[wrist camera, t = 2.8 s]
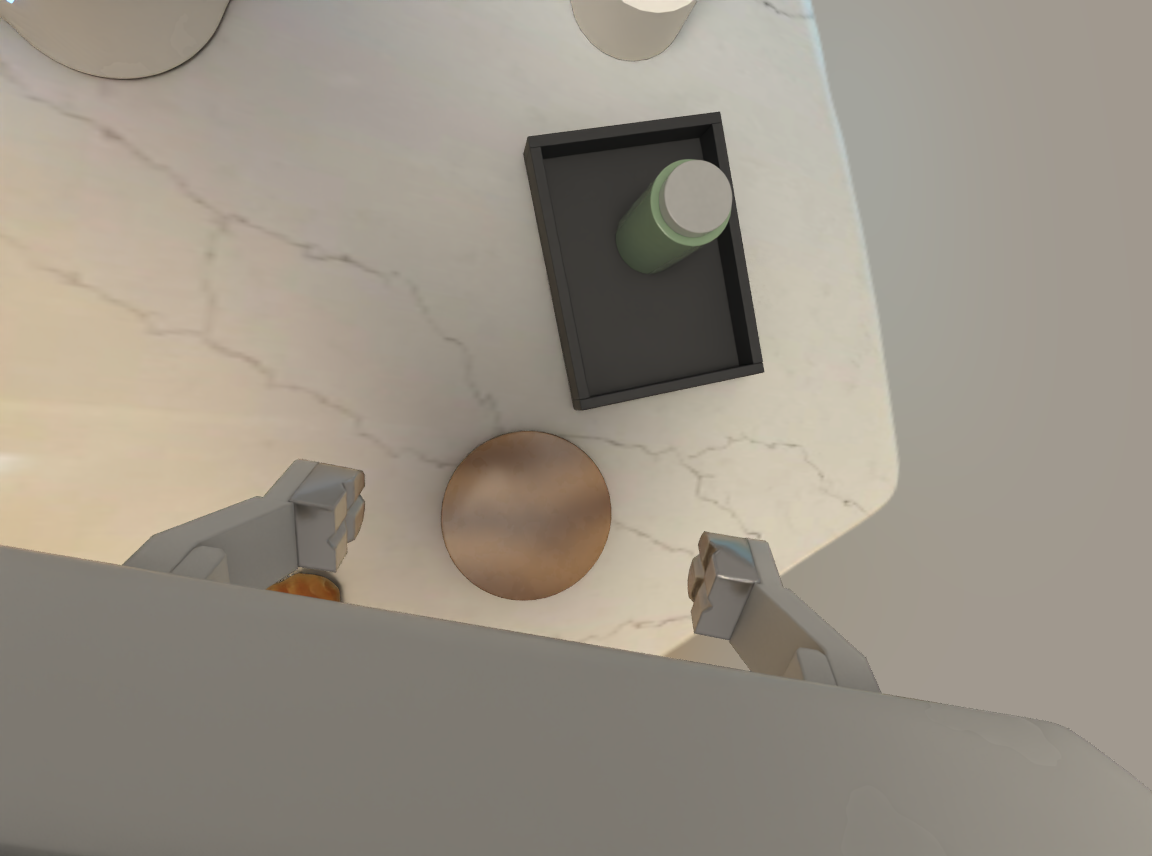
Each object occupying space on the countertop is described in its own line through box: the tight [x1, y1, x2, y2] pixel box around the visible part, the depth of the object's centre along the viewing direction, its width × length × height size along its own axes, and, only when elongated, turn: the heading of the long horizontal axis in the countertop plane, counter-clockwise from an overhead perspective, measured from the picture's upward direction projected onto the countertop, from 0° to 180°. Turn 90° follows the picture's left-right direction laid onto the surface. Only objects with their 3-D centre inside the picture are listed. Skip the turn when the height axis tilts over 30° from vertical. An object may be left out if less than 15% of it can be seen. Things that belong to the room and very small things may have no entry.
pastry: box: [265, 573, 340, 602], centre depth 43 cm, size 9×7×4 cm
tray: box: [524, 112, 764, 410], centre depth 46 cm, size 20×15×3 cm
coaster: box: [441, 431, 611, 600], centre depth 47 cm, size 13×13×1 cm
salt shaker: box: [616, 159, 732, 274], centre depth 42 cm, size 5×5×10 cm
